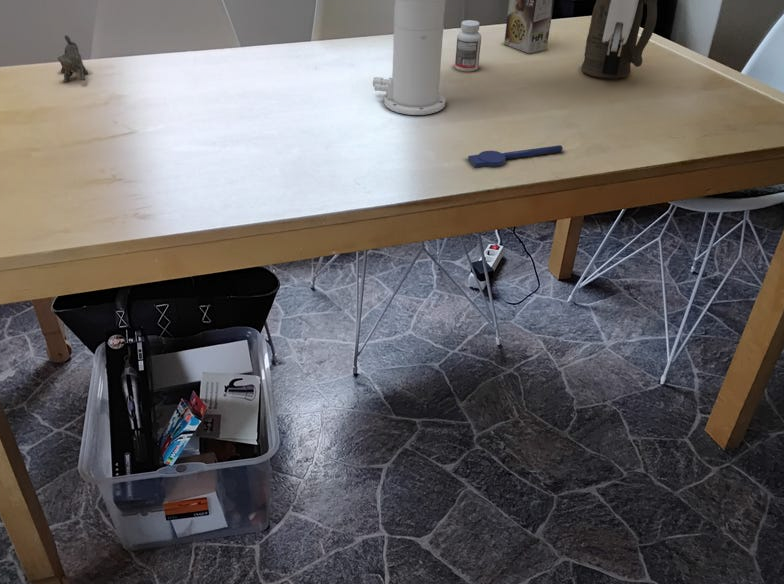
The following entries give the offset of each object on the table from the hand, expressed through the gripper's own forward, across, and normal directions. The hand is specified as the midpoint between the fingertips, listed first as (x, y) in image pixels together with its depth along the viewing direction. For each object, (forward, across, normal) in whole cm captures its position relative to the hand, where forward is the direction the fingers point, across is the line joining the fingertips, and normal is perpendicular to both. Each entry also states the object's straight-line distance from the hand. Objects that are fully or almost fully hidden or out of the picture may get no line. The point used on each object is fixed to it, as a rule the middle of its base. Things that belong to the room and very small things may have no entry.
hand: (609, 73), depth 157 cm
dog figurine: (+2, +39, -110) cm, 117 cm away
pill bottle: (+3, +1, -31) cm, 32 cm away
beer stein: (+2, -6, +1) cm, 7 cm away
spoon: (+2, +44, -12) cm, 46 cm away
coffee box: (+3, -19, -22) cm, 29 cm away
